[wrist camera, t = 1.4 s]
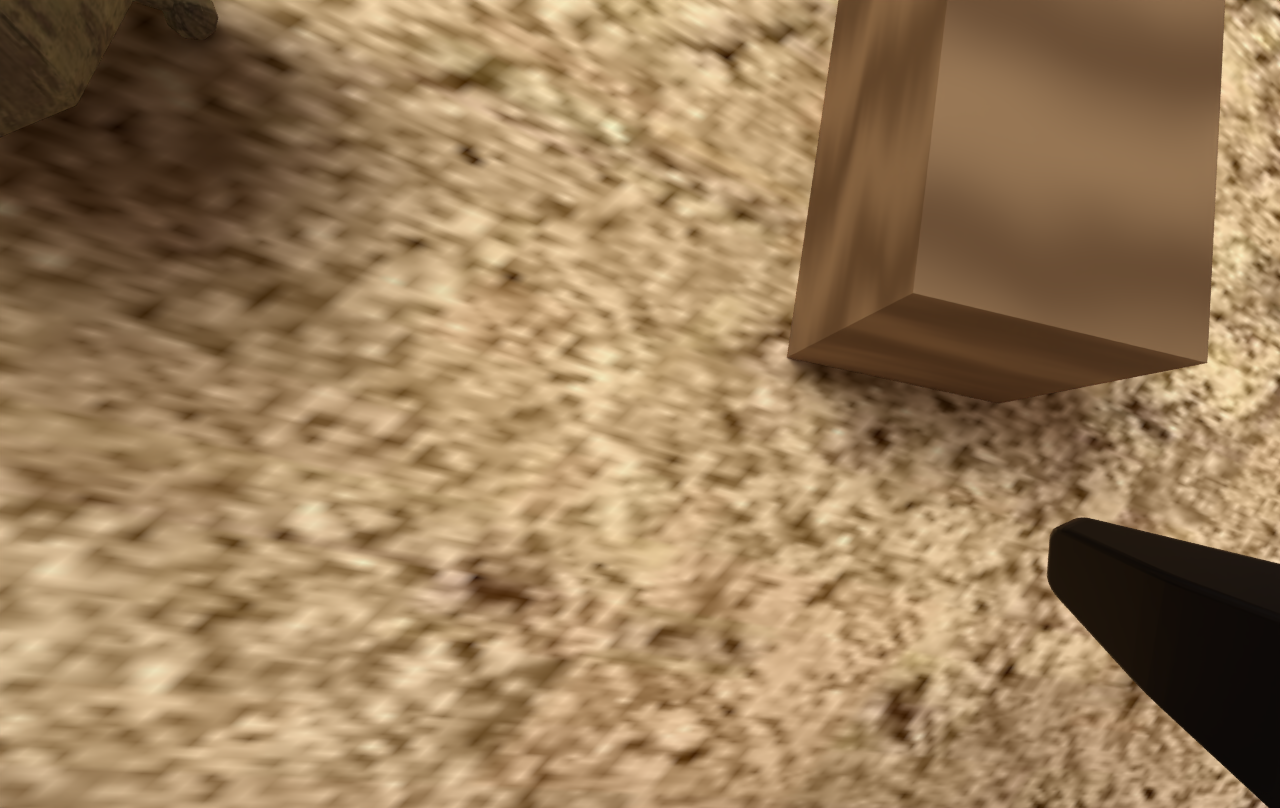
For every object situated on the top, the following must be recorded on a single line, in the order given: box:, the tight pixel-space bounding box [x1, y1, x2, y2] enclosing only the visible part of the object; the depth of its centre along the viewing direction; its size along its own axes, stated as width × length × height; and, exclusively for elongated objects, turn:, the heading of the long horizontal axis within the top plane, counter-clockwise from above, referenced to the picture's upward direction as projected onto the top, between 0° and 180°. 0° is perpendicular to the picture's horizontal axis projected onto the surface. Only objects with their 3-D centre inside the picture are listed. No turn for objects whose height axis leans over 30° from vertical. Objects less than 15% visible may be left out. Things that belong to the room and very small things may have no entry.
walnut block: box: [787, 0, 1225, 403], centre depth 25 cm, size 16×9×9 cm, turn 170°
